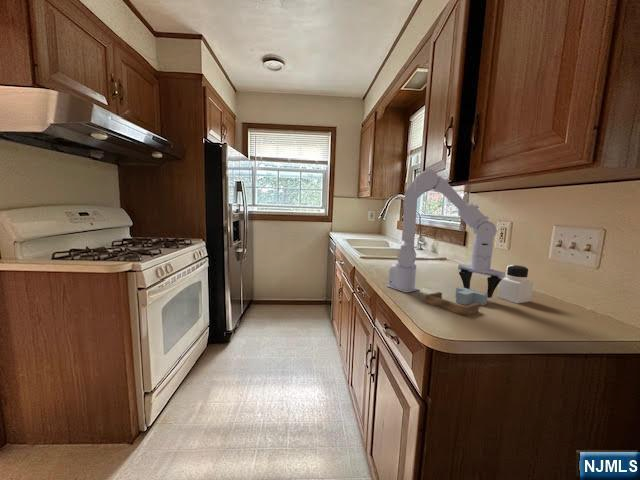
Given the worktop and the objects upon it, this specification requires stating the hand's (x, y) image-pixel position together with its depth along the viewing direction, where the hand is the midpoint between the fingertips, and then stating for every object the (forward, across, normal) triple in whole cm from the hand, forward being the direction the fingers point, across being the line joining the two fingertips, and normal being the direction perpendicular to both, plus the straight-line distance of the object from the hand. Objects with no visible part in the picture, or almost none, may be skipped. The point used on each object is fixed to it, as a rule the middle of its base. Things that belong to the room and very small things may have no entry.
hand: (477, 294), depth 95 cm
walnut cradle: (+2, 0, +17) cm, 17 cm away
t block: (+2, 0, +6) cm, 6 cm away
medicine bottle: (+2, -7, -11) cm, 13 cm away
